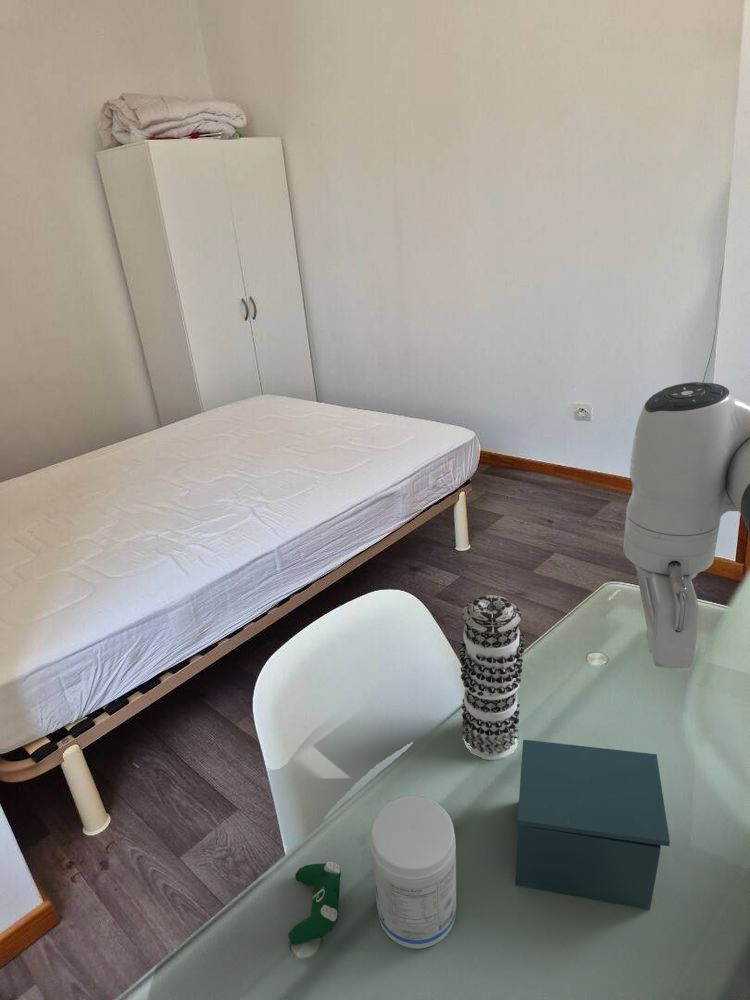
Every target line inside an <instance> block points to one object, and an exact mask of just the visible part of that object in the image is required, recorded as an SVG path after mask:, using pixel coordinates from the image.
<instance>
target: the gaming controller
mask: <svg viewBox="0 0 750 1000" xmlns="http://www.w3.org/2000/svg"><path fill="white" fill-rule="evenodd" d="M341 874H342V872H341V867H340V866H339V864H337V863H335V862H334V861H333V862H332V861H326V862H324V863H312V864H306V865H304V866H301V867H299V868H298V870H297V871H296V872H295V875H294V878H295V880H296V881H297V882H298V881H299V882H301V883H303V884H302V885H304V884H307V885H306V886H309V885H310V886H311V887H313V891H312V901H311V909H310V911H311V912H310V916H308V917H307V918H305V919H303V920H302V921H300V922H299V923H297V924H296V925H294V927H292V928H291V930H290V931H289V932H288V934H287V936H288V939H289V942H290V945H299V944H300V945H301V944H305V943H309V942H312V941H314V940H316V939H319V938H321V937H323V936H324V935H326V934H327V933H329V932H332V930H333V929H334V927H335V925H336V924H337V922H338V919H339V912H340V911H339V906H340V893H341V892H340V891H341V877H342V875H341ZM299 882H298V883H299ZM301 883H300V884H301Z"/></svg>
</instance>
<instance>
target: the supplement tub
mask: <svg viewBox="0 0 750 1000" xmlns="http://www.w3.org/2000/svg"><path fill="white" fill-rule="evenodd" d="M369 841H370V853H371V861H372V862H371V863H372V871H373V880H374V890H375V901H376V910H377V917H378V920H379V923H380V925H381V927H382V929H383V931H384V932H385V933H386V935H387V936H388V937H389V938H390V939H391V940H392V941H393V942H395V943H397V944H398V945H400V946H402V947H405V948H409V949H414V950H415V949H417V950H418V949H420V950H421V949H427V948H429V947H433V946H435V945H437V944H438V943H440V942H441V941H442V940H444V939H445V938H446V937H447V936H448V934H449V933H450V931H451V930H452V928H453V926H454V925H455V920H456V917H457V856H456V855H457V854H456V853H457V847H456V845H457V844H456V834H455V829H454V824H453V820H452V818H451V817H450V815H449V814H448V811H446V810H445V809H444V808H443V806H442V805H440V804H439V803H437V802H436V801H434V800H432V799H430V798H427V797H423V796H417V795H408V796H407V795H406V796H401V797H398V798H394V799H393V800H391V801H390V802H387V803H386V804H385V805H383V806H382V807H381V808H380V809H379V810H378V812H377V813H376V815H375V816H374V818H373V820H372V824H371V827H370V840H369Z"/></svg>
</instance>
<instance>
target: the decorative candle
mask: <svg viewBox="0 0 750 1000" xmlns="http://www.w3.org/2000/svg"><path fill="white" fill-rule="evenodd" d="M461 617H462V619H463V621H464V627H463V635H462V637H461V639H460V641H459V646H460V647H459V654H460V655H459V657H458V659H459V661H460V665H461V667H460V672H461V675H460V679H461V682H462V684H463V687H464V694H463V698H462V703H463V704H462V705H461V709H462V711H463V712H462V713H461V718H462V721H461V727H462V729H461V734H462V736H463V735H464V739H465V741H466V742H467V743H469V744H470V745H468V746H471V747H472V748H470V747H469V748H470V749H471V752H472V753H473V754H476V755H477V756H479V757H481V758H482V759H481V758H480V759H481V760H487V761H498V760H503V759H505V758H508V757H510V756H511V755H513V754H514V752H515V751H516V749H517V747H518V740H519V735H518V734H517V732H519V731H520V728H519V727H518V726H516V725H520V719H519V715H520V709H519V708H520V703H519V702H518V693H517V691H518V690H519V688H520V684H521V682H522V679H521V674H522V673H523V668H522V667H523V663H524V660H523V654H524V652H525V648H524V647H525V644H524V643H525V640H524V638H525V637H524V636H525V635H524V634H523V633H522V632H520V631H521V630H520V628H519V627H520V626H519V625H520V622H521V620H522V612H521V610H520V609H519V607H518V606H517V605H515V604H513V603H512V602H511V601H510V600H508V599H507V598H505V597H503V596H500V595H496V594H495V595H494V594H487V595H481V596H479V597H476V598H475V599H474V600H473V601H470V602H468V603H467V604H466V606H464V608H462V613H461ZM471 752H470V753H471ZM472 753H471V754H472ZM473 754H472V755H473ZM477 756H476V757H477ZM479 757H478V758H479Z"/></svg>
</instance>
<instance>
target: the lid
mask: <svg viewBox="0 0 750 1000" xmlns="http://www.w3.org/2000/svg"><path fill="white" fill-rule="evenodd" d="M520 768H521V769H520V780H519V793H518V808H517V824H518V825H522V826H529V827H536V828H543V829H550V830H557V831H564V832H571V833H579V834H586V835H593V836H600V837H607V838H614V839H621V840H628V841H635V842H642V843H649V844H656V845H660V846H665V847H670V844H671V841H670V834H669V827H668V820H667V813H666V807H665V800H664V793H663V787H662V781H661V774H660V766H659V761H658V754H656V753H648V752H640V751H633V750H632V751H631V750H622V749H613V748H604V747H595V746H587V745H586V746H584V745H576V744H568V743H567V744H566V743H559V742H558V743H557V742H550V741H549V742H548V741H541V740H540V741H539V740H532V739H531V740H530V739H523V740H522V751H521V766H520Z"/></svg>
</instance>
